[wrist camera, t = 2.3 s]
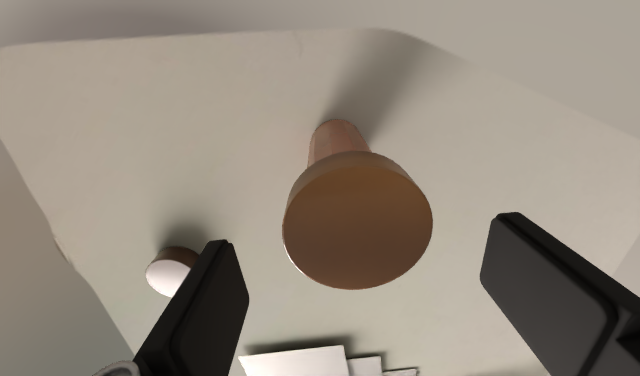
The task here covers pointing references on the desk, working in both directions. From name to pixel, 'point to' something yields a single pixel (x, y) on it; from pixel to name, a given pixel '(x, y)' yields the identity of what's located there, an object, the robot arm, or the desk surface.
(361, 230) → the oak chip
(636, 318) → the robot arm
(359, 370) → the paper stack
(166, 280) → the walnut chip
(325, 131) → the terracotta cup
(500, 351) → the desk surface
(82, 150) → the desk surface
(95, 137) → the desk surface
